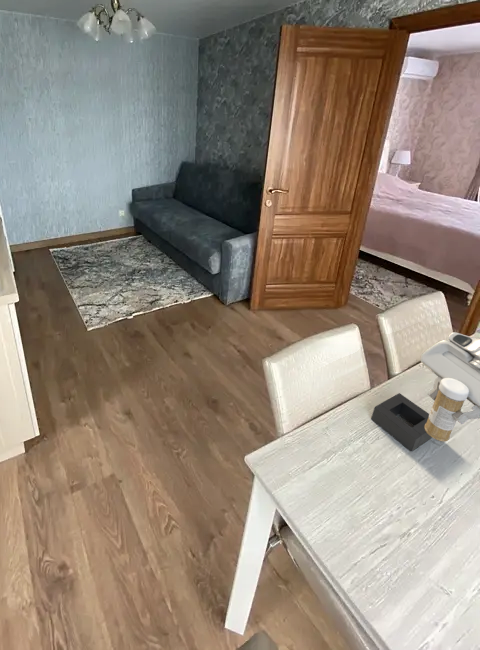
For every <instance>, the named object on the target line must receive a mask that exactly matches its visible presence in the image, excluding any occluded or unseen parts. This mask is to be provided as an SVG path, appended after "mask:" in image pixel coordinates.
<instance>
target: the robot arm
mask: <svg viewBox="0 0 480 650" xmlns="http://www.w3.org/2000/svg"><path fill="white" fill-rule="evenodd" d="M419 361H420V362H421V364H422V365H423V366H424V367H425V368H427V369H428V370H429V371H430V372H431V373H433V374H434V375H436V376H437V377H436V378H435V379H434V383H433V389H432V390H430V391H429V392H428V393H427V395H428V397H430V399H432V400H433V402H434V401H435V399H436V396H437V394H438V391H439V385H440V382H441V380H442V379H444V378H452V379H455V380H458V381H460V382H462V383H463V384H464V385H466V386H467V388H468V389H469V394H468V396H467V399H466V401H468V402H470V403H471V404H472V405H473V406H472V407H471V411H470V410H469V411H464V412H462V410H461V411H460V410H458V411H457V412H456V413H454V414H453V417H454V418H455V419H456V420H457V421H456V422H458V423H459V424H461V425H463V424H465V423H466V422H468V420H478V419H480V338H475V337H474V336H469V335H466V334H462V333H460V332H456V331H453V332H450V333H449V335H448V336H447V339H444V340H439V341H437V342H436V343H434V344H433V345H431V346H430V347H427V349H426V350H424V351H423V352H422V353H421V354H420V360H419Z"/></svg>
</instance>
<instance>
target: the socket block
mask: <svg viewBox="0 0 480 650" xmlns="http://www.w3.org/2000/svg"><path fill="white" fill-rule="evenodd" d="M429 414H430V412H427V411H426V410H425V409H423V408H422V407H420V406H419V405H417V404H416V403H414V402H413V401H412V400H410V399H409V398H407V397H406V396H405V395H403V394H401V392H398V393H396V394H395V395H394V396H391V397H390V398H388V399H386V400H384V401H383V402H380V403H379V404H377V405H375V406H374V407H373V411H372V414H371V417H370V419H371V421H373V422H374V423H375V424H376V425H378V426H379V427H380V428H381V429H383V430H384V431H385V432H386V433H387V434H388V435H389V436H391V437H392V438H393V439H395V440H396V441H397V442H398V443H399V444H400V445H402V446H403V447H404V448H405V449H407V450H408V451H409V452H410V453H412V452H413V451H415V450H417V449H418V448H420V446H422V445H424V444H425V443H426V442H428V441H430V440H431V439H432V438H433V437H431V436H430V435H429V434H428V433H427V432H426V431H425V424H426V423H427V420H428V418H429ZM398 415H399V416H400V417H402V418H403V419H404V420H406V421H407V422H408V423H410V424H411V425H412V426H410V425H408V424H407V423H406V422H405V421H404V420H402V419H401V418H400V417H398Z"/></svg>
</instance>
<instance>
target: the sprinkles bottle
mask: <svg viewBox="0 0 480 650" xmlns="http://www.w3.org/2000/svg"><path fill="white" fill-rule="evenodd" d="M468 394H469V389H468V388H467V386H466V385H464V384H463V383H462V382H460V381H458V380H455V379H452V378H444V379H442V380H441V382H440V385H439V391H438V394H437V396H436V399H435V401H434V400H433V403H432V407H431V409H430V411H429V418H428V420H427V423H426V424H425V431H426V432H427V433H428V434H429V435H430V436H431V437H432V438H433V439H434V440H437V441H438V442H439V441H440V442H447V441H449V440H450V437H451V434H452V431H453V429H454V428H455V425H456V423H457V422H458V421H457V420H456V419H455V418H454V417H453V414H454V413H456V412H457V411H458V410H460V411H461V412H462V407H463V405H464V403H465V401H467V396H468Z"/></svg>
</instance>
